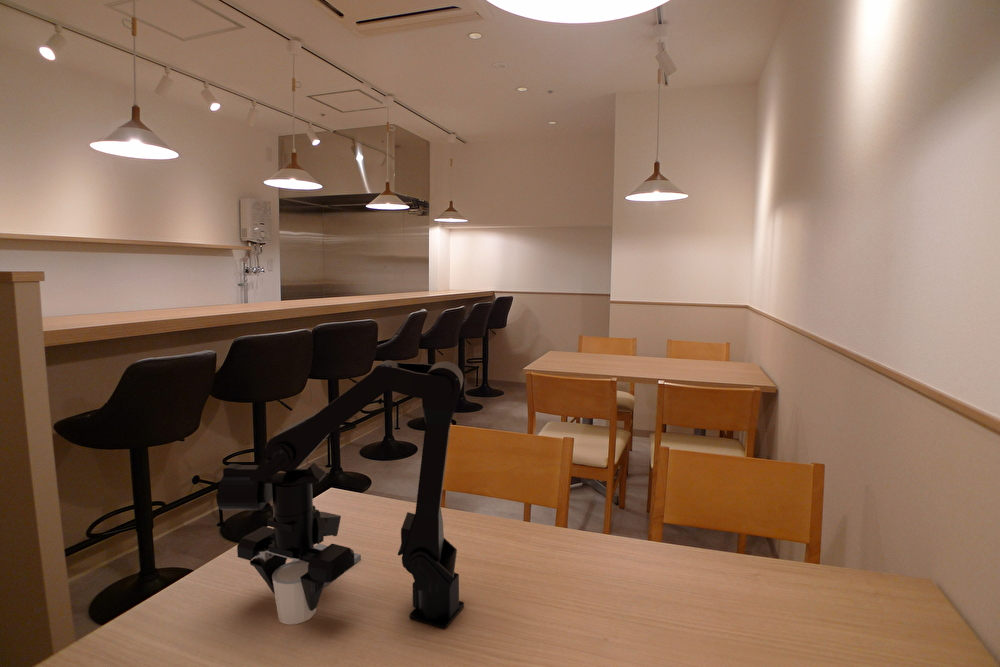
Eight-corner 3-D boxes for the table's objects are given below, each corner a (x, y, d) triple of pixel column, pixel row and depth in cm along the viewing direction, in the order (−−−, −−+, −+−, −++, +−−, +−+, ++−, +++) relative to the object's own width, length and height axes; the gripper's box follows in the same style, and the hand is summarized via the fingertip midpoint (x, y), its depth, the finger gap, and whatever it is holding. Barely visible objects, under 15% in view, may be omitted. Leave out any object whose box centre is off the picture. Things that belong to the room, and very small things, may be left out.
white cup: (327, 601, 87) (326, 560, 87) (308, 628, 81) (306, 584, 80) (287, 598, 88) (285, 558, 87) (264, 625, 81) (262, 582, 80)
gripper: (375, 498, 86) (377, 590, 88) (287, 480, 93) (290, 565, 95) (327, 528, 76) (330, 631, 78) (232, 505, 83) (237, 600, 85)
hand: (297, 603), depth 84 cm, fingers closed on white cup, 6 cm apart
